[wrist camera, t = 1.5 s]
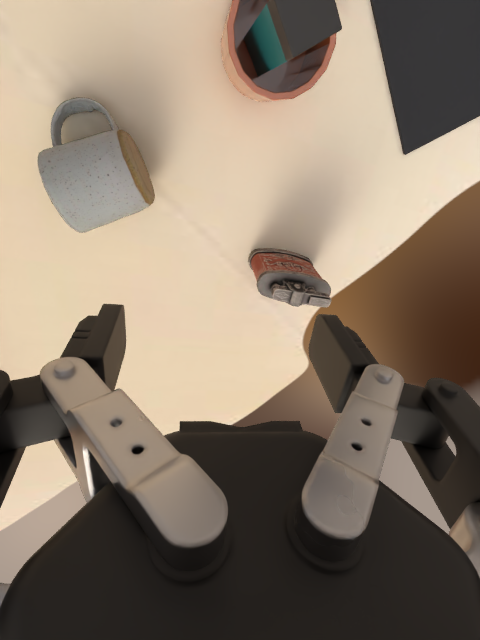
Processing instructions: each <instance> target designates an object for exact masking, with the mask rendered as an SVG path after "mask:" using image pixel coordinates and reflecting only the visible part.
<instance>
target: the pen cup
mask: <svg viewBox="0 0 480 640" xmlns="http://www.w3.org/2000/svg"><path fill="white" fill-rule="evenodd" d="M268 1H269V0H232V3H231V6H230V9H229V12H228V15H227V18H226V22H225V26H224V30H223V34H222V38H221V53H222V61H223V65H224V68H225V71H226V73H227V75H228V78H229V79H230V81H231V83H232V84H233V85H234V87H235V88H236V89H237V90H238V91H239V92H240V93H242V94H243V95H244V96H246V97H248V98H250V99H252V100H256V101H258V102H267V101H278V100H286V99H292V98H295V97H297V96H298V95H300V94H302V93H304V92H305V91H307V90H309V89H311V88H312V87H313V85H314V84H315V83H316V82H317V80H318V79H319V78H320V77H321V75H322V74H323V73H324V72H325V70H326V69H327V66H328V64H329V61H330V58H331V56H332V53H333V50H334V48H335V44H336V33H335V34H333V35H332V36H330V37H328V38H327V39H325V40H323V41H321V42H320V43H318V44H316V45H315V46H313V47H311V48H310V49H308V50H306V51H305V52H303V53H301V54H299V55H298V56H296V57H294V58H293V59H291V60H289V61H287V62H285V63H283V64H281V65H280V66H278V67H276V68H274V69H272V70H270V71H268V72H266V73H265V74H263V75H261V76H259V77H258V75H257V73H256V70H255V67H254V65H253V62H252V60H251V57H250V54H249V52H248V49H247V47H246V44H245V41H244V37H245V35H246V34H247V32H248V31H249V29H250V28H251V26H252V25H253V23H254V22H255V20H256V19H257V17H258V16H259V14H260V13H261V11H262V10H263V8H264V7H265V5H266V4H267V3H268Z"/></svg>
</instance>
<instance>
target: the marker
mask: <svg viewBox="0 0 480 640" xmlns="http://www.w3.org/2000/svg"><path fill="white" fill-rule="evenodd" d="M341 29H342V26H341V22H340V18H339V14H338V11H337V7H336V3H335V0H269V1H268V3H267V4H266V5H265V7H264V8H263V10H262V11H261V13H260V14H259V16H258V17H257V19H256V20H255V22H254V23H253V25H252V26H251V28H250V29H249V31H248V32H247V34H246V35H245V37H244V41H245V44H246V47H247V49H248V52H249V54H250V57H251V60H252V62H253V65H254V67H255V70H256V73H257V75H258V77H259V76H261V75H263V74H265V73H266V72H268V71H270V70H272V69H274V68H276V67H278V66H280V65H281V64H283V63H285V62H287V61H289V60H291V59H293V58H294V57H296V56H298V55H299V54H301V53H303V52H305V51H306V50H308V49H310V48H311V47H313V46H315V45H316V44H318V43H320V42H321V41H323V40H325V39H327V38H328V37H330V36H332V35H333V34H335V33H337V32H338V31H340V30H341Z"/></svg>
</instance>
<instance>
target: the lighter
mask: <svg viewBox="0 0 480 640" xmlns="http://www.w3.org/2000/svg"><path fill="white" fill-rule="evenodd" d="M249 265H250V267H251V269H252V270H253V272H254V274H255V277H256V280H257V288H258V291H259V292H260V294H262V295H263V296H266V297H269V298H272V299H275V300H278V301H283V302H286V303H288V304H290V305H292V306H297V307H298V306H300V305H302V304H306V305H313V306H319V307H328V306H329V305H330V303H331V298H330V297H329V296H330V293H331V288H330V286H329V284H328V283H327V282H326V281H325V280H323V279H322V278H321V277H320V275H319V274H318V273H317V271H316V270H315V269H314V267H313V264H312V262H311V261H310V259H309V258H307V257H305V256H302V255H300V254H297V253H294V252H290V251H286V250H280V249H255V250H254V251H252V252H251V254H250V256H249Z"/></svg>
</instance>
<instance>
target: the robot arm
mask: <svg viewBox="0 0 480 640" xmlns="http://www.w3.org/2000/svg"><path fill="white" fill-rule="evenodd" d="M125 349H126V329H125V312H124V306H123V305H116V304H103V306H102V308H101V310H100V312H99V314H98V316H87V317H86V318H85V319H83V320H82V321H80V322H79V324H78V326H77V328H76V329H75V332H74V333H73V335H72V338H71V339H70V341H69V342H68V344H67V346H66V348H65V350H64V352H63V353H62V355H61V357H60V358H59V359H56V360H53V361H51V362H49V363H47V364H46V365H45V366H44V367H43V368H42V369H41V371H40V375H37V376H33V377H29V378H23V379H18V380H12V381H10V378H9V375H8V374H7V373H6V372H4V371H2V370H0V508H1V505H2V503H3V501H4V498H5V496H6V493H7V491H8V489H9V486H10V484H11V481H12V479H13V477H14V474H15V472H16V469H17V467H18V465H19V462H20V460H21V458H22V455H23V453H24V450H25V448H26V446H30V445H34V444H38V443H42V442H46V441H50V440H54V441H55V443H56V444H57V446H58V448H59V449H60V451H61V453H62V454H63V456H64V458H65V459H66V461H67V463H68V464H69V466H70V468H71V469H72V471H73V473H74V474H75V476H76V478H77V480H78V482H79V485H80V487H81V491H82V493H83V496H84V498H85V500H86V502H87V504H86V505H85V506H84V507H83V508H81V510H79V511H78V513H76V514H75V515H74V516H73V517H72V518H71V519H70V520H69V521H68V522H67V523H66V524H65V525H64V526H63V527H62V528H61V529H60V530H58V532H56V534H54V535H53V536H52V537H51V538H50V539H49V540H48V541H47V542H46V543H45V544H44V545H43V546H42V547H41V548H40V549H39V550H38V551H37V552H36V553H34V554H33V555H32V557H31V558H30V559H29V560H28V561H27V562H26V563H25V564H24V565H23V567H22V568H21V569H20V571H19V572H18V573H17V575H16V577H15V578H14V579H13V581H12V583H11V584H4V583H0V640H480V407H479V406H478V405H477V403H476V402H475V401H474V400H473V399H472V398H471V397H470V396H469V395H468V393H467V392H466V391H465V390H464V389H463V388H462V387H460V386H459V385H457V384H455V383H453V382H451V381H448V380H446V379H441V378H432V379H429V380H428V382H427V384H426V386H425V388H423V387H419V386H415V385H410V384H406V383H404V379H403V377H402V376H401V375H400V374H399V373H398V372H397V371H395V370H393V369H391V368H389V367H387V366H384V365H379V364H378V362H377V361H376V359H375V358H374V357H373V355H372V354H371V353H370V351H369V350H368V348H366V346H365V344H364V343H363V342H362V340H361V339H360V337H359V336H358V335H357V333H355V332H354V331H353V330H351V329H350V328H348V327H344V325H343V324H342V322H341V321H340V320H339V318H338V317H337V316H336V315H325V314H319V315H318V316H317V317H316V320H315V324H314V328H313V332H312V336H311V340H310V344H309V357H310V360H311V362H312V364H313V366H314V368H315V371H316V373H317V375H318V377H319V379H320V381H321V383H322V386H323V388H324V390H325V392H326V394H327V396H328V399H329V401H330V403H331V405H332V407H333V409H334V412H335V413H341V415H340V417H339V419H338V421H337V423H336V426H335V427H334V429H333V432H332V433H331V435H330V438H329V439H328V440H326V439H324V438H322V437H320V436H318V435H316V434H313V433H310V432H307V431H303V430H302V427H301V424H300V421H271V422H266V423H261V424H257V425H252V426H248V427H236V426H231V425H226V424H221V423H216V422H211V421H180V431H177V432H173V433H170V434H167V435H165V436H163V435H162V433H161V432H160V431H159V430H158V429H157V428H156V427H155V426H154V424H153V423H152V422H151V421H150V420H149V419H148V418H147V417H146V416H145V414H144V413H143V412H142V411H141V410H140V409H139V408H138V407H137V406H136V404H135V403H134V402H133V401H132V400H131V399H130V398H129V397H128V396H127V394H126V393H125V392H124V391H123V390H121V389H116V390H114V389H115V386H116V382H117V379H118V375H119V372H120V368H121V365H122V361H123V358H124V354H125ZM448 436H450V438H451V439H452V441H453V442H454V444H455V446H456V453H457V454H456V457H455V455H454V454H453V452H452V451H451V449H450V448H449V447H448V445H447V444H446V440H447V438H448ZM390 438H392V439H396V440H400V441H402V443H403V445H404V447H405V448H406V450H407V452H408V454H409V456H410V457H411V459H412V461H413V463H414V465H415V467H416V469H417V470H418V472H419V474H420V476H421V478H422V479H423V481H424V483H425V485H426V487H427V488H428V490H429V492H430V494H431V496H432V497H433V499H434V501H435V503H436V505H437V506H438V508H439V510H440V512H441V513H442V515H443V517H444V519H445V521H446V522H447V524H448V526H449V528H450V531H449V535H448V534H447V533H446V532H445V531H443V530H442V529H441V528H440V527H438V526H437V525H436V524H435V523H433V522H432V521H431V520H429V519H428V518H427V517H426V516H424V515H423V514H422V513H420V512H419V511H418V510H417V509H415V508H414V507H413V506H411V505H410V504H409V503H408V502H406V501H405V500H404V499H402V498H401V497H400V496H399V495H397V494H396V493H395V492H394V491H392V490H391V489H390V488H389V487H387V486H386V485H385V484H383V483H382V482H381V481H379V477H380V474H381V470H382V467H383V463H384V459H385V456H386V452H387V449H388V445H389V442H390Z"/></svg>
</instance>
